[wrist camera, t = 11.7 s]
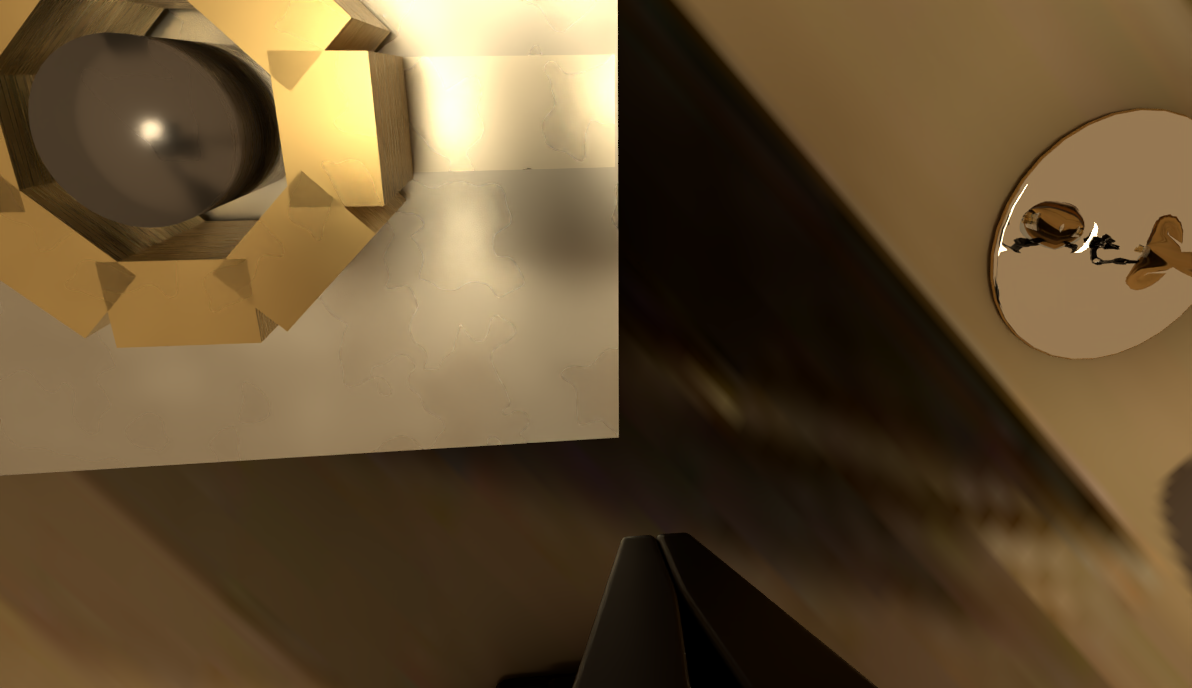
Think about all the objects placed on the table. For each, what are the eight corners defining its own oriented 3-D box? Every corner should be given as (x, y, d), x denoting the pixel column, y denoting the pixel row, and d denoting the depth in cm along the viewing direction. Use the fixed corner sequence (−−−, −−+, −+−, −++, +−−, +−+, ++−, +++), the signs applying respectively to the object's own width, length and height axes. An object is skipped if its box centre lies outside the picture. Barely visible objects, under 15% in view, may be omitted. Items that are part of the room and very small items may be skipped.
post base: (613, 418, 22) (646, 537, 16) (-17, 456, 20) (-224, 602, 14) (609, -329, 15) (661, -563, 10) (-316, -363, 14) (-893, -668, 8)
